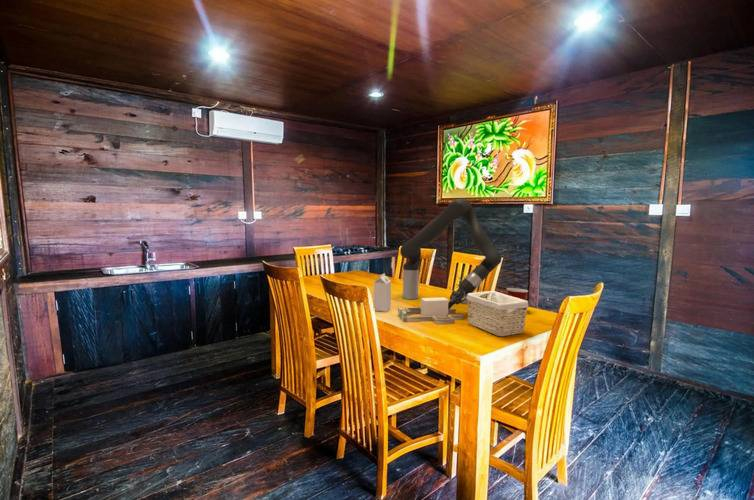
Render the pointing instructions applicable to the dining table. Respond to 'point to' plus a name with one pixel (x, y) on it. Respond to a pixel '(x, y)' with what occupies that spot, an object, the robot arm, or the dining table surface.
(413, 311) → the trap lane
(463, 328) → the dining table surface
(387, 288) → the milk carton
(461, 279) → the house plant
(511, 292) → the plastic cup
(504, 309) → the storage basket
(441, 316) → the cream box
